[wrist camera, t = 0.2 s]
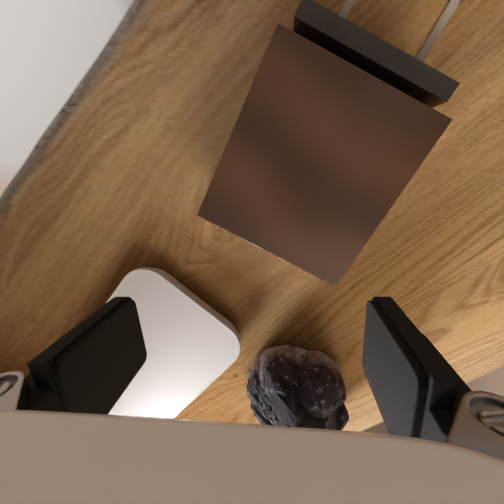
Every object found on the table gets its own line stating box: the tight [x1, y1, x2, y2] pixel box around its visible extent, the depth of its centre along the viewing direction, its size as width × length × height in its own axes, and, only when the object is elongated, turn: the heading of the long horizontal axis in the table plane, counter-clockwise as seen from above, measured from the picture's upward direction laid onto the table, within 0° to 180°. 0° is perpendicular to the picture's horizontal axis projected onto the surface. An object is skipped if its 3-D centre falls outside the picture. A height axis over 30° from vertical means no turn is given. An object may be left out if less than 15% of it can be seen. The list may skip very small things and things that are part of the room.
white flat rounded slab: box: [106, 267, 241, 419], centre depth 34 cm, size 16×26×2 cm, turn 140°
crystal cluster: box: [247, 345, 349, 430], centre depth 30 cm, size 13×14×10 cm
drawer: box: [293, 0, 465, 108], centre depth 20 cm, size 18×11×6 cm, turn 154°
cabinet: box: [197, 24, 452, 287], centre depth 22 cm, size 14×13×8 cm
